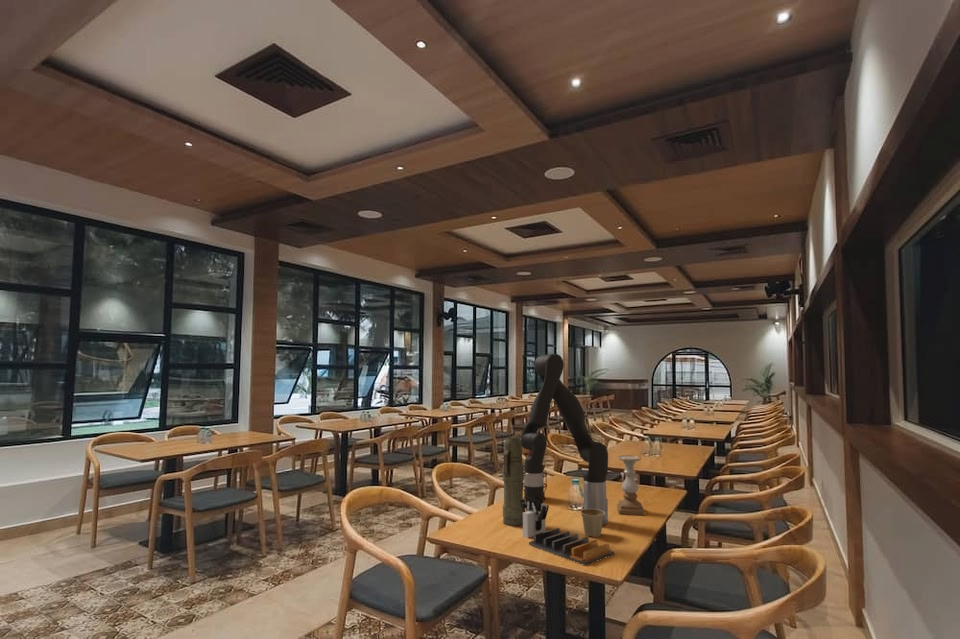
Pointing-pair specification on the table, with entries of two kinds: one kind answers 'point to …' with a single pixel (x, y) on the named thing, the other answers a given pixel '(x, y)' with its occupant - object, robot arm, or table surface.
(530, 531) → the panel
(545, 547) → the rack
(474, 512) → the table surface
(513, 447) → the thermos
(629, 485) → the candle holder
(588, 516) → the flower pot
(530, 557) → the table surface
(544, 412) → the robot arm
